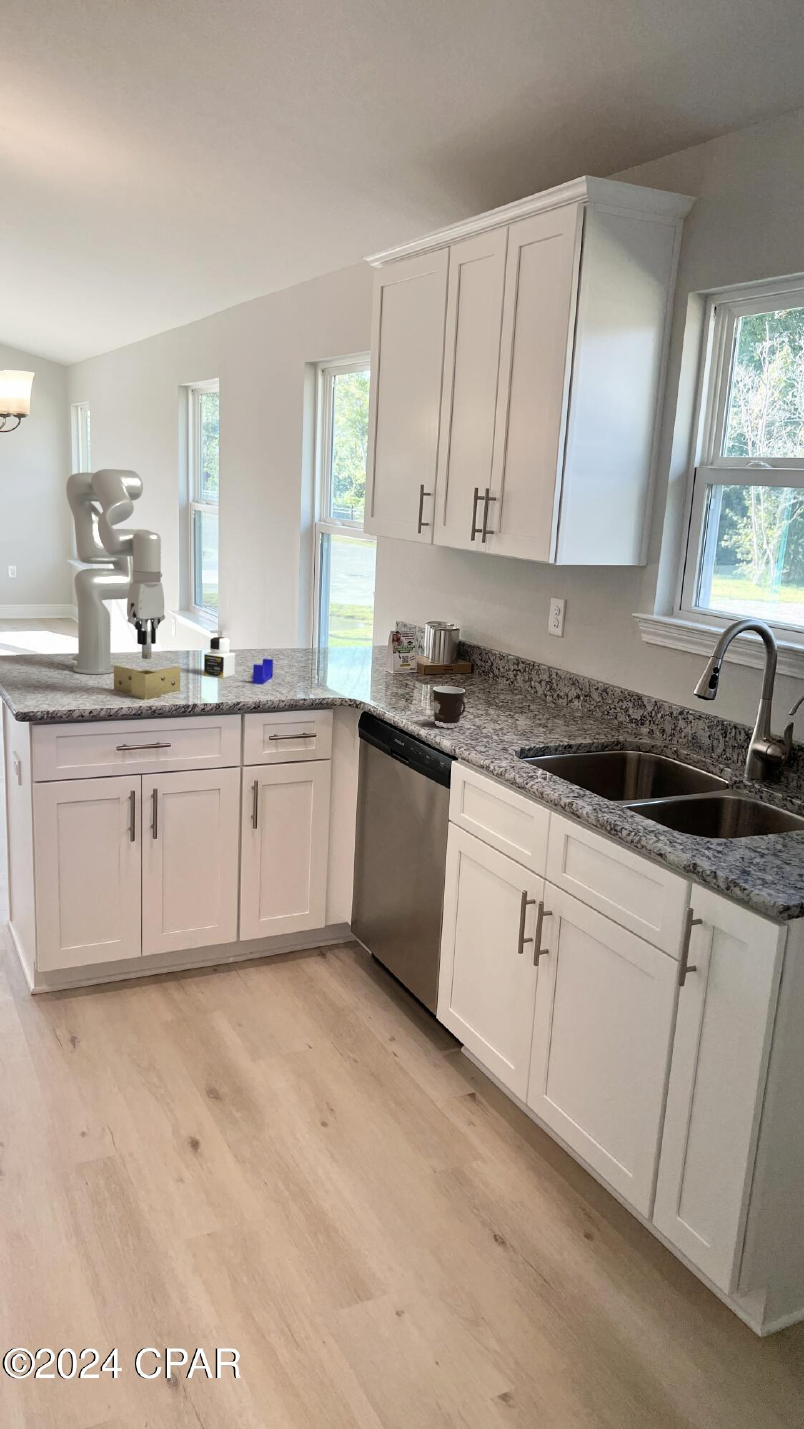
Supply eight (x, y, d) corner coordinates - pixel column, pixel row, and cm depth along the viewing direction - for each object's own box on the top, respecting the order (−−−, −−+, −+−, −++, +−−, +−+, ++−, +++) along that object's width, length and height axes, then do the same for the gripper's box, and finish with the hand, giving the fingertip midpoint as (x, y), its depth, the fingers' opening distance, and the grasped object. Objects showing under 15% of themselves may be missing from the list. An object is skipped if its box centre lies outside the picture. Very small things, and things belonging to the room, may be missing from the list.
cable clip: (258, 676, 330) (259, 658, 329) (272, 677, 330) (273, 659, 328) (248, 683, 319) (248, 664, 317) (262, 685, 318) (262, 665, 317)
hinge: (107, 690, 297) (107, 666, 295) (148, 683, 309) (148, 660, 308) (145, 699, 288) (145, 675, 287) (186, 692, 301) (186, 668, 299)
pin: (137, 657, 289) (137, 611, 286) (147, 656, 292) (147, 610, 289) (146, 659, 287) (146, 612, 284) (155, 658, 290) (155, 612, 287)
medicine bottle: (203, 675, 325) (204, 637, 323) (215, 672, 332) (216, 635, 329) (223, 678, 323) (224, 640, 320) (235, 675, 329) (236, 637, 327)
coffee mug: (428, 721, 284) (431, 685, 282) (460, 722, 285) (462, 687, 283) (433, 731, 273) (436, 694, 271) (466, 733, 274) (468, 696, 272)
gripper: (159, 575, 293) (158, 639, 297) (114, 577, 280) (114, 645, 284) (177, 577, 289) (177, 642, 293) (133, 580, 276) (133, 648, 280)
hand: (146, 643), depth 288 cm, fingers closed on pin, 2 cm apart
